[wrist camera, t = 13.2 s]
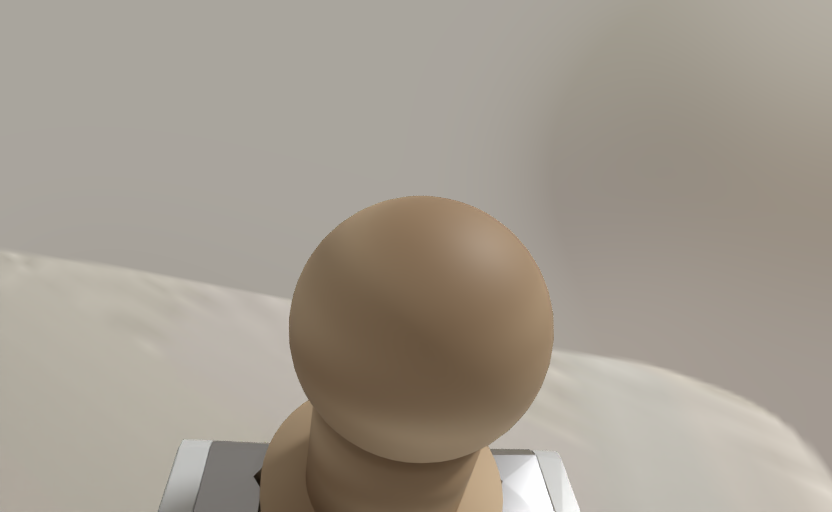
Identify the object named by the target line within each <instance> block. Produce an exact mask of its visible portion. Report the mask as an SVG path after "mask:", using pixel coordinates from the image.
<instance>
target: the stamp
mask: <svg viewBox="0 0 832 512" xmlns="http://www.w3.org/2000/svg"><path fill="white" fill-rule="evenodd" d="M553 340H554V331H553V311H552V307H551V301H550V296H549V292H548V289H547V286H546V284H545V281H544V278H543V276H542V274H541V272H540V269H539V267H538V266H537V264H536V262H535V261H534V259H533V257H532V256H531V254H530V253H529V251H528V250H527V249H526V247H525V246H524V245H523V244H522V243H521V241H520V240H519V239H518V238H517V237H516V236H515V235H514V234H513V233H512V232H511V231H510V230H509V229H508V228H507V227H505V226H504V225H503V224H501V223H500V222H499V221H497V220H496V219H495V218H493V217H492V216H490V215H489V214H487V213H485V212H483V211H481V210H479V209H477V208H475V207H473V206H470V205H468V204H465V203H462V202H459V201H455V200H451V199H446V198H441V197H433V196H408V197H402V198H397V199H391V200H387V201H383V202H380V203H378V204H375V205H372V206H370V207H368V208H365V209H363V210H361V211H359V212H357V213H356V214H354V215H353V216H351V217H349V218H348V219H346V220H345V221H343V222H342V223H341V224H339V225H338V226H337V227H336V228H335V229H334V230H333V231H332V232H330V233H329V234H328V235H327V236H326V237H325V238H324V239H323V240H322V242H321V243H320V244H319V245H318V247H317V248H316V250H315V251H314V252H313V254H312V255H311V257H310V258H309V259H308V261H307V263H306V265H305V267H304V269H303V271H302V273H301V275H300V277H299V280H298V282H297V285H296V288H295V291H294V294H293V299H292V304H291V310H290V317H289V343H290V349H291V355H292V359H293V364H294V368H295V371H296V374H297V376H298V379H299V382H300V384H301V386H302V388H303V390H304V392H305V394H306V396H307V398H308V399H309V400H308V401H306V402H305V403H303V404H302V405H301V406H300V407H298V408H297V409H296V410H295V411H294V412H292V413H291V415H290V416H289V417H288V418H287V419H286V420H285V421H284V422H283V423H282V425H281V426H280V428H279V429H278V430H277V432H276V433H275V435H274V437H273V439H272V441H271V442H270V444H269V446H268V449H267V452H266V455H265V458H264V461H263V466H262V471H261V481H260V512H502V508H503V493H502V484H501V479H500V474H499V470H498V467H497V465H496V462H495V459H494V457H493V455H492V453H491V451H490V449H489V447H488V445H490V444H491V443H492V442H494V441H495V440H496V439H498V438H499V437H501V436H502V435H503V434H505V433H506V432H507V431H508V430H510V429H511V428H512V427H513V426H514V425H515V424H516V423H517V422H518V420H519V419H520V418H521V417H522V416H523V415H524V414H525V412H526V411H527V410H528V408H529V407H530V405H531V404H532V402H533V401H534V399H535V397H536V396H537V394H538V392H539V390H540V388H541V386H542V384H543V381H544V379H545V376H546V373H547V370H548V367H549V364H550V359H551V353H552V347H553Z"/></svg>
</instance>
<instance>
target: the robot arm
mask: <svg viewBox="0 0 832 512" xmlns="http://www.w3.org/2000/svg"><path fill="white" fill-rule="evenodd" d="M269 444H270V443H257V442H234V441H214V440H188V439H183V441H182V442H181V444H180V446H179V448H178V450H177V453H176V456H175V459H174V462H173V466H172V469H171V472H170V475H169V478H168V481H167V484H166V488H165V491H164V494H163V497H162V500H161V503H160V506H159V509H158V512H260V481H261V471H262V466H263V461H264V458H265V455H266V452H267V449H268V446H269ZM490 451H491V453H492V455H493V457H494V459H495V462H496V465H497V467H498V470H499V474H500V479H501V484H502V493H503V508H502V512H581V511H580V508H579V506H578V503H577V500H576V497H575V495H574V492H573V489H572V486H571V484H570V481H569V478H568V476H567V473H566V470H565V467H564V465H563V462H562V459H561V456H560V455H559V454H558V453H557V452H556V451H543V450H529V449H490Z"/></svg>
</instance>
